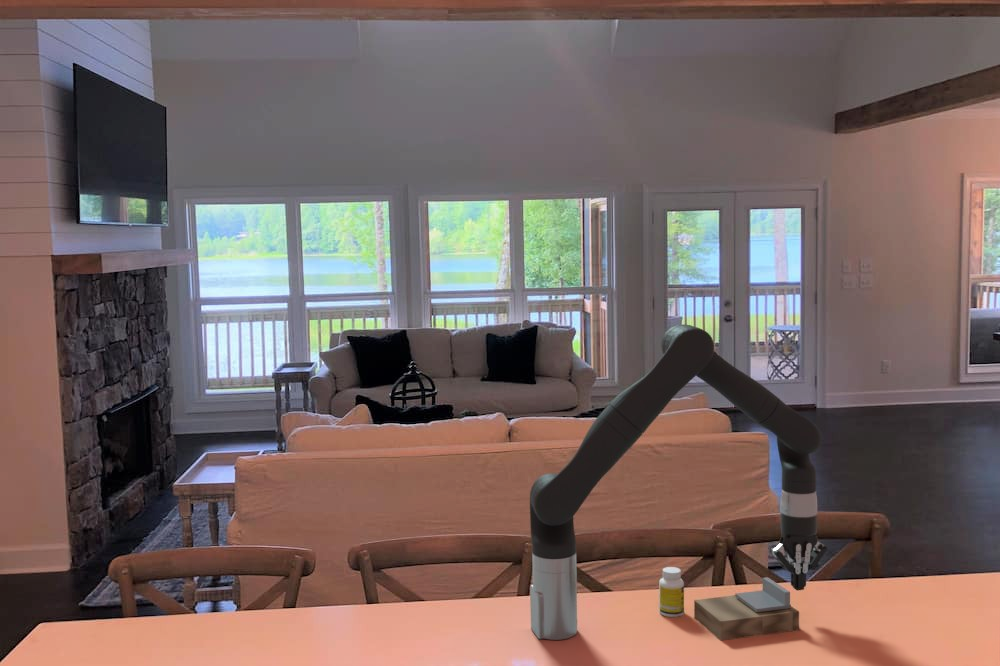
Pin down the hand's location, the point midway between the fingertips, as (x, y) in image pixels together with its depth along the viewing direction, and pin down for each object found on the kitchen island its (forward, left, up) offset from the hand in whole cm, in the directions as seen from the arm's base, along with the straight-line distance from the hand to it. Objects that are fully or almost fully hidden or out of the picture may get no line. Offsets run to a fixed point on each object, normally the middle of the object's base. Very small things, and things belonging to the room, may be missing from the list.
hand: (798, 588), depth 197 cm
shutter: (-9, 0, -2) cm, 9 cm away
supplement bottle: (-25, +10, -7) cm, 28 cm away
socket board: (-13, 0, -6) cm, 14 cm away
